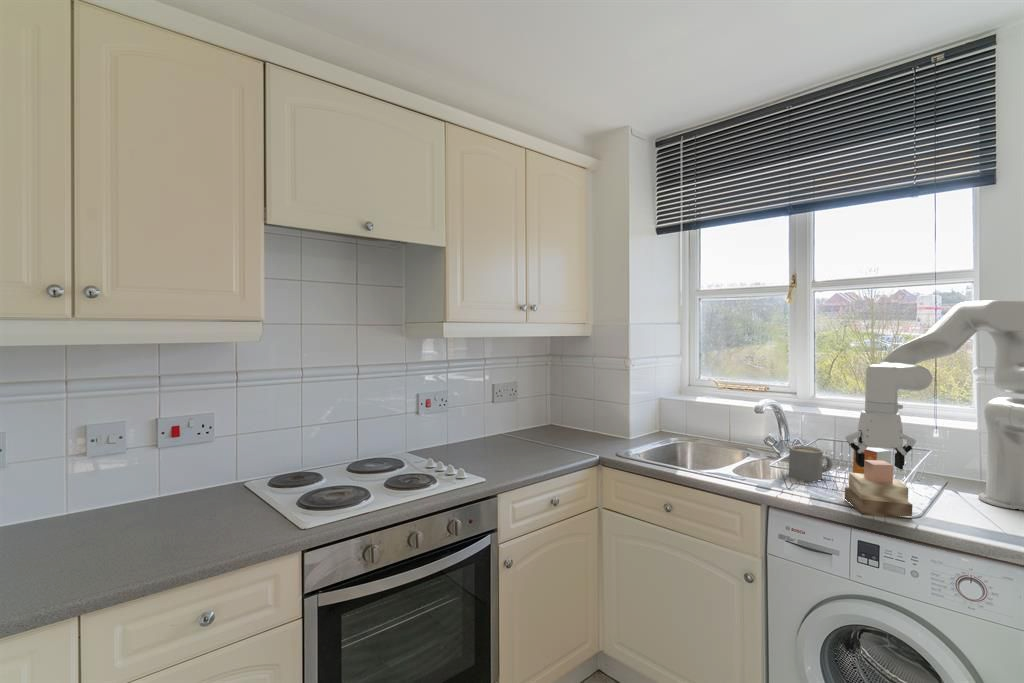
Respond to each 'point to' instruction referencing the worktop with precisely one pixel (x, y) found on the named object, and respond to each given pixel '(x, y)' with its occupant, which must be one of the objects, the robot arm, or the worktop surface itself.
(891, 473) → the terracotta cube
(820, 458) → the coffee mug
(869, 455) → the small box
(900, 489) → the tower top block
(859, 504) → the tower base block
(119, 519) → the worktop surface
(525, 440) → the worktop surface
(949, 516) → the worktop surface
